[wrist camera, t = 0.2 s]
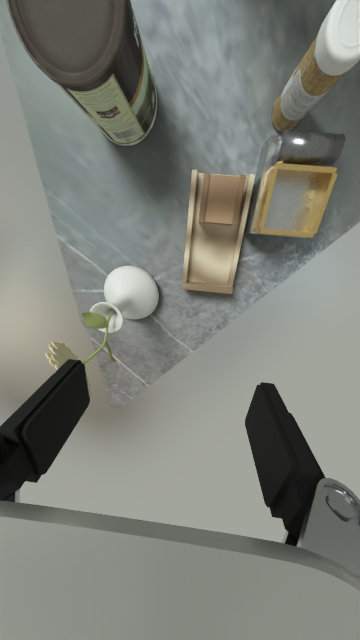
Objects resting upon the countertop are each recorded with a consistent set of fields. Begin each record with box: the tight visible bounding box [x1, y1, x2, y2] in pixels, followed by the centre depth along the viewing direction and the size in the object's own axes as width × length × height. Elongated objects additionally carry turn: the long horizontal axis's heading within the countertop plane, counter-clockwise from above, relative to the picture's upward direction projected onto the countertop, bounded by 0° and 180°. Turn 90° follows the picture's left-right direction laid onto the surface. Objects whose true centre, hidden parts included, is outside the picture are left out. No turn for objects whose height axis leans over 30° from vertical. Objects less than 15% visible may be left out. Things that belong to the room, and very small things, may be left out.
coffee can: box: [6, 0, 157, 146], centre depth 22 cm, size 10×10×14 cm
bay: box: [181, 170, 255, 294], centre depth 33 cm, size 18×10×4 cm, turn 175°
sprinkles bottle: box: [272, 0, 360, 132], centre depth 21 cm, size 5×5×13 cm
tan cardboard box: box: [198, 172, 246, 225], centre depth 30 cm, size 6×6×4 cm
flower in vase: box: [46, 266, 159, 397], centre depth 30 cm, size 13×11×25 cm
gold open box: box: [245, 130, 345, 238], centre depth 28 cm, size 12×9×7 cm
